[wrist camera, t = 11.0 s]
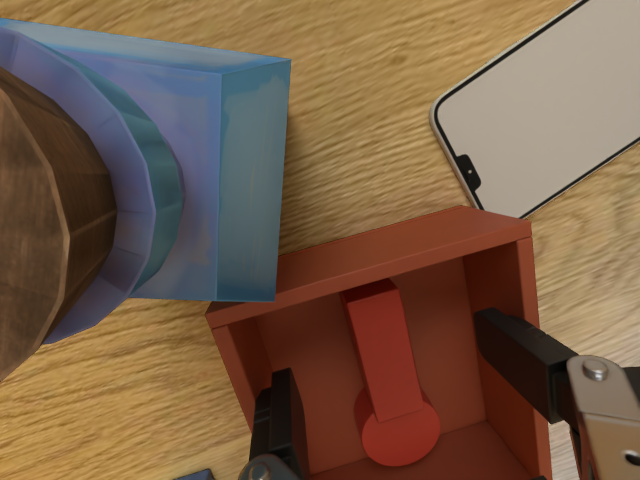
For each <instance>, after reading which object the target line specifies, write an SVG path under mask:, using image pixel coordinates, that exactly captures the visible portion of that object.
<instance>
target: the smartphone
mask: <svg viewBox="0 0 640 480" xmlns="http://www.w3.org/2000/svg"><path fill="white" fill-rule="evenodd" d="M577 3H578V4H577ZM564 12H565V13H564ZM561 14H562V15H561ZM551 21H552V22H551ZM548 23H549V24H548ZM538 30H539V31H538ZM535 32H536V33H535ZM525 39H526V40H525ZM522 41H523V42H522ZM512 48H513V49H512ZM509 50H510V51H509ZM499 57H500V58H499ZM496 59H497V60H496ZM486 66H487V67H486ZM483 68H484V69H483ZM473 75H474V76H473ZM470 77H471V78H470ZM460 84H461V85H460ZM457 86H458V87H457ZM447 93H448V94H447ZM429 122H430V126H431V128H432V130H433V132H434V134H435V136H436V138H437V140H438V142H439V144H440V146H441V147H442V149H443V151H444V153H445V155H446V157H447V159H448V161H449V163H450V165H451V166H452V168H453V170H454V172H455V174H456V176H457V178H458V180H459V182H460V184H461V186H462V187H463V189H464V191H465V193H466V195H467V197H468V199H469V201H470V203H471V205H472V207H473V208H476V209H480V210H484V211H489V212H493V213H498V214H502V215H506V216H511V217H515V218H519V219H525V218H526V217H528V216H529V215H531V214H532V213H534V212H535V211H537V210H538V209H540V208H541V207H543V206H544V205H546V204H547V203H549V202H550V201H552V200H553V199H555V198H556V197H558V196H559V195H561V194H562V193H564V192H565V191H567V190H568V189H570V188H571V187H573V186H574V185H576V184H577V183H579V182H580V181H582V180H583V179H585V178H586V177H588V176H589V175H591V174H592V173H594V172H595V171H597V170H598V169H600V168H601V167H603V166H604V165H606V164H607V163H609V162H610V161H612V160H613V159H615V158H616V157H618V156H619V155H621V154H622V153H624V152H625V151H626V150H628V149H629V148H631V147H632V146H634V145H635V144H637V143H638V142H640V0H577V1H576V2H574V3H573V4H572V5H570V6H569V7H567V8H566V9H564V10H563V11H561V12H560V13H559V14H557V15H556V16H554V17H553V18H551V19H550V20H548V21H547V22H546V23H544V24H543V25H541V26H540V27H538V28H537V29H535V30H534V31H533V32H531V33H530V34H528V35H527V36H525V37H524V38H522V39H521V40H520V41H518V42H515V43H514V44H512V45H511V46H509V47H508V48H506V49H505V50H504V51H502V52H501V53H499V54H498V55H496V56H495V57H493V58H492V59H491V60H489V61H488V62H486V63H485V65H483V66H482V67H481V68H479V69H478V70H476V71H475V72H473V73H472V74H470V75H469V76H468V77H466V78H465V79H463V80H462V81H460V82H459V83H457V84H456V85H455V86H453V87H452V88H450V89H449V90H447V91H446V92H444V93H443V94H442V95H440V96H439V97H438V98H437V99H436V100H435V101H434V102H433V104H432V106H431V108H430V111H429Z"/></svg>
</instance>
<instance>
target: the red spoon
mask: <svg viewBox="0 0 640 480" xmlns="http://www.w3.org/2000/svg"><path fill="white" fill-rule="evenodd" d="M339 295H340V298H341V302H342V306H343V310H344V314H345V317H346V321H347V325H348V329H349V332H350V336H351V340H352V344H353V348H354V351H355V355H356V359H357V363H358V367H359V370H360V374H361V378H362V382H363V384H364V388H363V389H362V390H361V392H360V393H359V395H358V396H357V399H356V401H355V405H354V417H355V421H356V424H357V428H358V431H359V435H360V439H361V442H362V446H363V448H364V450H365V452H366V453H367V455H368V456H369V457H370V458H371V459H372V460H374V461H375V462H377V463H379V464H382V465H386V466H403V465H407V464H411V463H413V462H415V461H417V460H419V459H421V458H422V457H424V456H425V455H426V454H427V453H428V452H429V451H430V450H431V449H432V448H433V447H434V445H435V444H436V442H437V440H438V438H439V435H440V428H441V425H440V419H439V416H438V414H437V412H436V410H435V408H434V407H433V405H432V404H431V402H430V400H429V399H428V397H427V395H426V394H425V392H424V391H423V389H422V388H421V386H420V385H419V380H418V375H417V371H416V366H415V361H414V356H413V351H412V347H411V342H410V337H409V332H408V327H407V323H406V318H405V313H404V308H403V303H402V299H401V294H400V289H399V288H398V287H397V286H396V285H395V284H394V283H393V281H392V280H391V279H390V278H385V279H382V280H378V281H375V282H371V283H368V284H364V285H361V286H357V287H354V288H350V289H347V290H344V291H340V292H339Z"/></svg>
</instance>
